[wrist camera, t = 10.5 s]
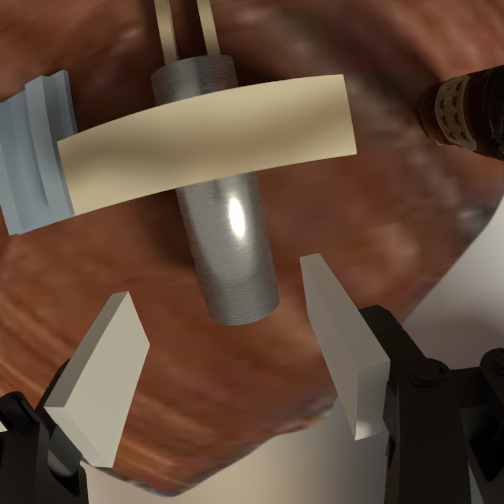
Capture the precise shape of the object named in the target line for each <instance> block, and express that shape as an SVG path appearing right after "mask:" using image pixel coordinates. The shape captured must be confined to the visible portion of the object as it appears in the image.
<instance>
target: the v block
mask: <svg viewBox="0 0 504 504" xmlns="http://www.w3.org/2000/svg"><path fill="white" fill-rule="evenodd" d="M75 134H78V130H77V124H76V119H75V114H74V108H73V102H72V96H71V90H70V83H69V76H68V71H65V70H62V71H60V72H57V73H55V74H53V75H51V76H49V77H47V76H43V75H41V76H39V77H37V78H36V79H34V80H32V81H30V82H28V83H26V84H25V90H23V91H21V92H20V93H18V94H16V95H14V96H13V97H11V98H9V99H8V100H6V101H4V102H3V103H0V205H1V209H2V212H3V216H4V219H5V222H6V226H7V229H8V232H9V235H13V234H16V233H18V235H19V234H22V233H25V232H28V231H31V230H34V229H37V228H40V227H43V226H46V225H49V224H52V223H55V222H58V221H61V220H64V219H67V218H70V217H74V216H77V215H75V212H74V209H73V205H72V202H71V198H70V194H69V191H68V187H67V183H66V179H65V175H64V171H63V167H62V163H61V158H60V154H59V149H58V144H57V142H58V141H61V140H63V139H65V138H68V137H70V136H73V135H75ZM92 211H93V210H92ZM89 212H90V211H89ZM86 213H87V212H86ZM82 214H83V213H82ZM79 215H80V214H79Z"/></svg>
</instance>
